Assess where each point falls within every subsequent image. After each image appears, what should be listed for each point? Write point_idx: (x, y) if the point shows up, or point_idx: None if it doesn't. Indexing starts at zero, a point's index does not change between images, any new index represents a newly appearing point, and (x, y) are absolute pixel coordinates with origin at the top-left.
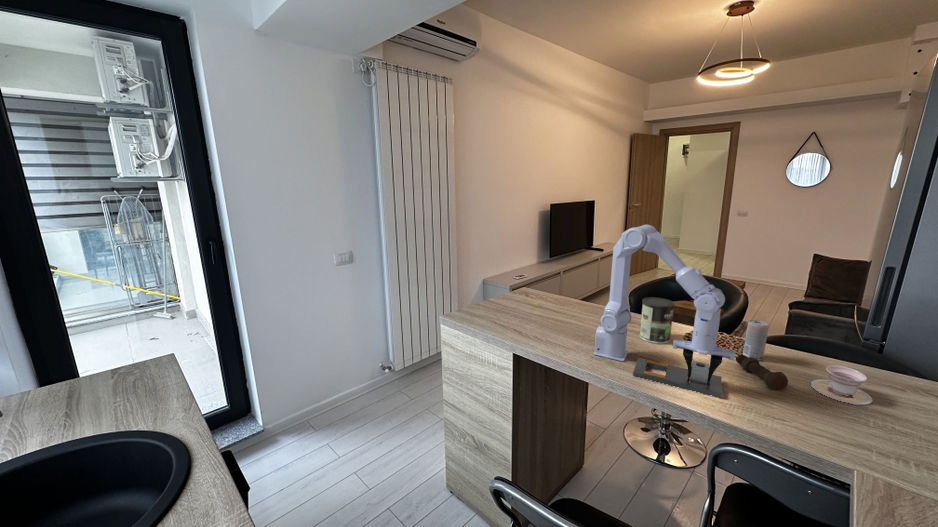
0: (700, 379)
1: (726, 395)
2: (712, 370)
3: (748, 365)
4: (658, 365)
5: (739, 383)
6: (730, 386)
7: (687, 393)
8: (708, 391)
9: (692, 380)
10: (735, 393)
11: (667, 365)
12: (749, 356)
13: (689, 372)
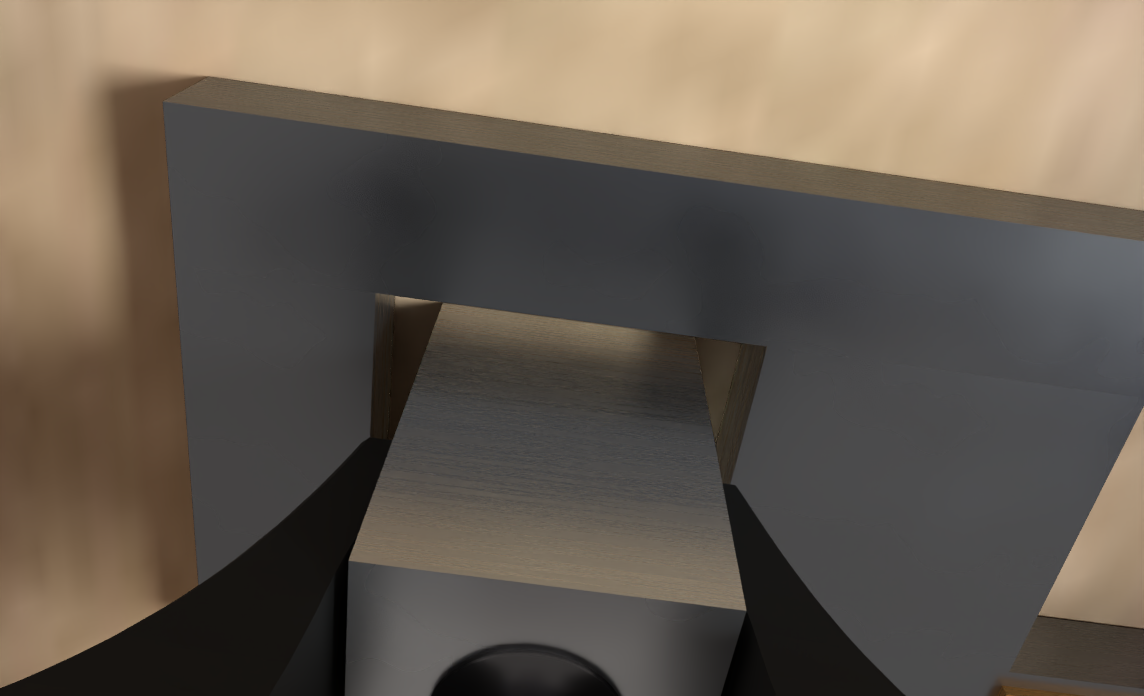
0: (534, 402)
1: (138, 230)
2: (268, 568)
3: None
4: (1140, 692)
5: (8, 631)
6: (106, 519)
7: (785, 22)
8: (409, 129)
9: (666, 388)
10: (22, 347)
11: None
12: None
13: (740, 517)
